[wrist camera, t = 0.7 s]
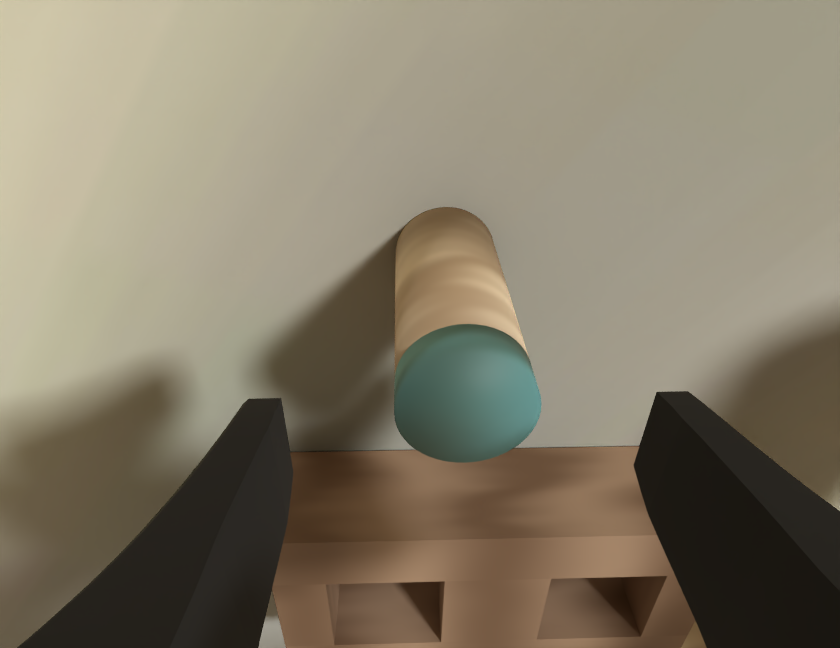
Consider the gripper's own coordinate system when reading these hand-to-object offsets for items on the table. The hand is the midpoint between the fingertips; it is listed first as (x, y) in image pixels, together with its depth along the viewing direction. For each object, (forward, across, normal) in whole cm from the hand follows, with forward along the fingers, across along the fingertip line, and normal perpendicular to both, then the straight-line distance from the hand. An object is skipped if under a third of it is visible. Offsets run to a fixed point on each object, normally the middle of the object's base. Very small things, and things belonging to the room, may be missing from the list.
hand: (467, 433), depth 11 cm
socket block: (+8, -2, +13) cm, 15 cm away
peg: (+8, 0, 0) cm, 8 cm away
